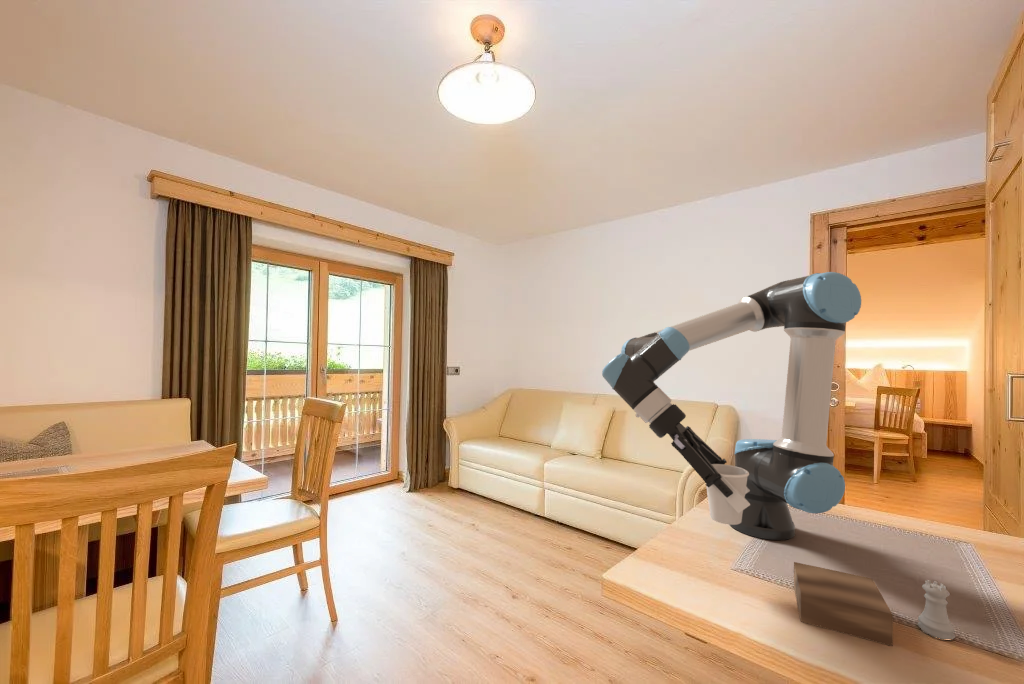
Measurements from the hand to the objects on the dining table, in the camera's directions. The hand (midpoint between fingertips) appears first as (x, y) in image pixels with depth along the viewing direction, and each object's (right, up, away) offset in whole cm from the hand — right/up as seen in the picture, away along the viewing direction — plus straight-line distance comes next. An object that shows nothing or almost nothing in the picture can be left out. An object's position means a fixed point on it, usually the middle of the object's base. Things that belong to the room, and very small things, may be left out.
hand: (744, 501), depth 84 cm
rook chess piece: (+24, -17, -14) cm, 33 cm away
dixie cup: (-3, -4, +2) cm, 6 cm away
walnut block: (+12, -17, -9) cm, 22 cm away
